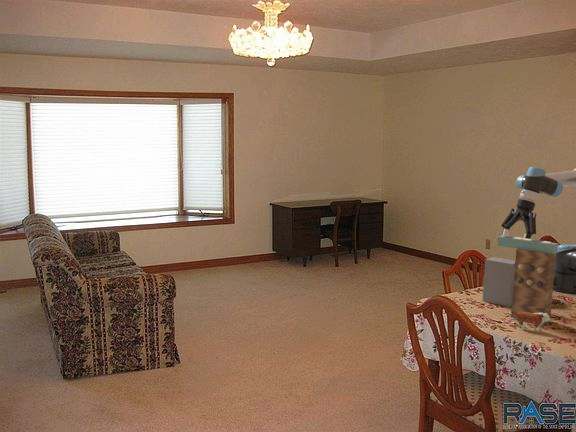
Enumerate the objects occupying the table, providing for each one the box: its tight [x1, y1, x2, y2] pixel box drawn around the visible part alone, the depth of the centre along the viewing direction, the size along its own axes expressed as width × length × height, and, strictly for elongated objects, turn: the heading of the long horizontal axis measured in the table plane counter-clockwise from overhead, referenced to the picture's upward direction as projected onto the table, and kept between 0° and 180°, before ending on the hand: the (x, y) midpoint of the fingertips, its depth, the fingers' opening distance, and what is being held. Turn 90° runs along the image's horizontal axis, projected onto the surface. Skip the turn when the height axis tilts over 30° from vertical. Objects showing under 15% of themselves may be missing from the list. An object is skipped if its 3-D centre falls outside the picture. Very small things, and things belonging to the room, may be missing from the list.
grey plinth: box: [482, 256, 515, 308], centre depth 288 cm, size 13×8×20 cm, turn 48°
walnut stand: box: [510, 248, 556, 326], centre depth 262 cm, size 14×8×30 cm, turn 48°
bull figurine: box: [515, 311, 551, 333], centre depth 250 cm, size 4×13×8 cm, turn 58°
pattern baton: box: [497, 235, 559, 254], centre depth 263 cm, size 24×4×4 cm, turn 48°
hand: (512, 245), depth 280 cm, fingers open, 13 cm apart
